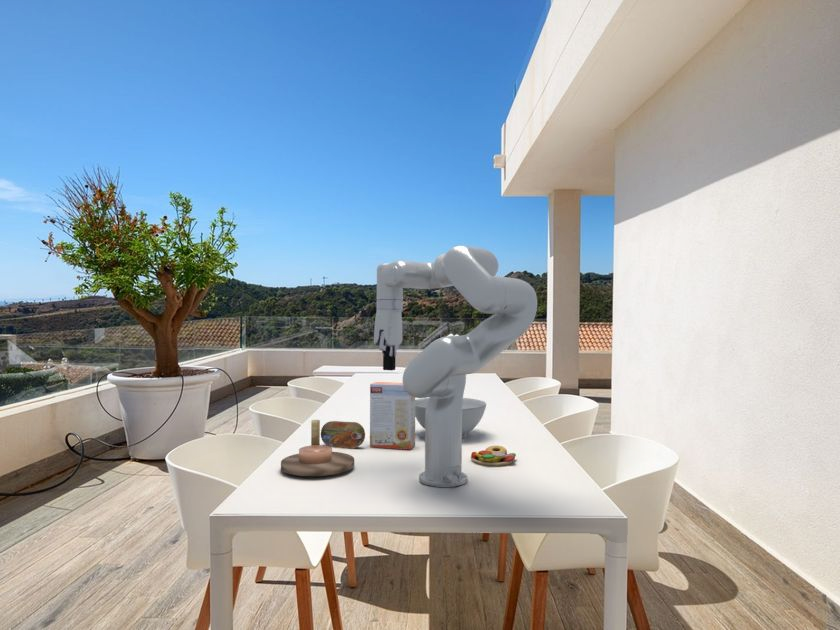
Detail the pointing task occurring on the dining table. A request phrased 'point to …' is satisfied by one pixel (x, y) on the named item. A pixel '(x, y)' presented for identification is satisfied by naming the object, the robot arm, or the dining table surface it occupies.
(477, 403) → the decorative bowl
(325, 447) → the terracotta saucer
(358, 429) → the tin
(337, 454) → the turntable
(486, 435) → the dining table surface
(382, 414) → the cracker box
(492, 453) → the toy food set
